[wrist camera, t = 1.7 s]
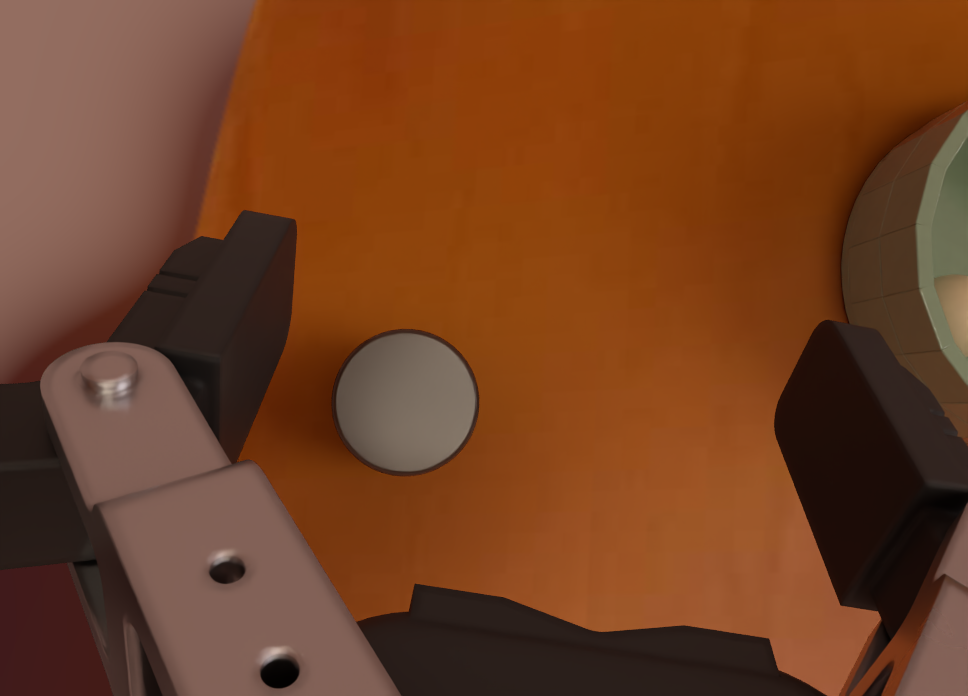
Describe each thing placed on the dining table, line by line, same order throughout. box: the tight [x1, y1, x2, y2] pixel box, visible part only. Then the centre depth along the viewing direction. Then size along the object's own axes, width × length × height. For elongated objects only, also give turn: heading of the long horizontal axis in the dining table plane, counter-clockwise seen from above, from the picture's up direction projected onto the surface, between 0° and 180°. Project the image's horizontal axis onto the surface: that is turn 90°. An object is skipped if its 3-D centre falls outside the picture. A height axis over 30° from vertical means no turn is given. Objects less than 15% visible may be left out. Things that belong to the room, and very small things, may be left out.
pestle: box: [332, 329, 479, 476], centre depth 22 cm, size 4×4×18 cm
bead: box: [934, 274, 968, 357], centre depth 31 cm, size 3×3×3 cm
